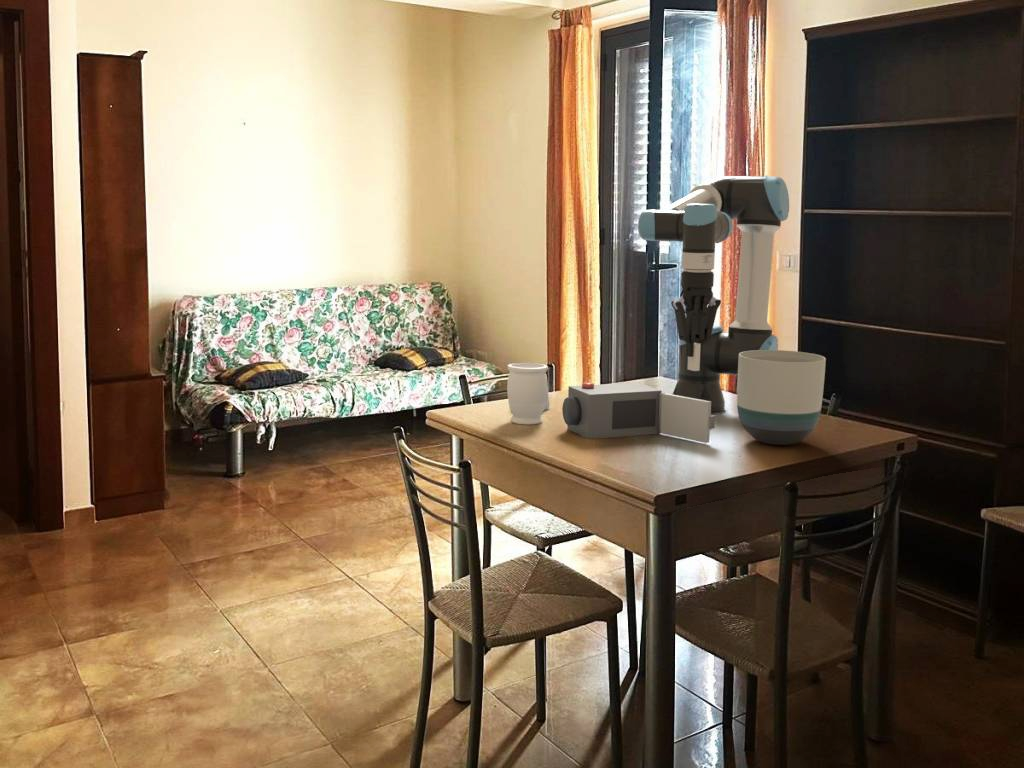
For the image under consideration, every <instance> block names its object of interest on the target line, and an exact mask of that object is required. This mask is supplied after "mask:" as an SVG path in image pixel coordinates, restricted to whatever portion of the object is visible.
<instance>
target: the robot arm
mask: <svg viewBox="0 0 1024 768" xmlns="http://www.w3.org/2000/svg"><path fill="white" fill-rule="evenodd" d="M789 212H790V198H789V190H788V187H787V184H786V182H785V180H784V179H783V178H781V177H779V176H774V175H773V176H772V175H770V176H769V175H726V176H721V177H717V178H713V179H710V180H708V181H705V182H703V183H701V184H698V185H697V186H695V187H694V188H692V189H691V190H690V192H689V193H688V195H686V196H684V197H682V198H680V199H678V200H676V201H675V202H673V203H671V204H669V205H668V206H666V207H663V208H661V209H654V208H653V209H645V210H643V211H642V212H641V213H640V215H639V218H638V221H637V230H638V235H639V237H640V238H641V240H643V241H652V242H679V243H680V242H681V243H682V250H681V251H682V252H681V267H680V268H681V269H682V270H683V271H682V272H681V274H680V286H681V292H680V294H679V298H677V299H676V300H672V301H671V306H672V308H673V310H674V316H675V320H676V321H675V322H676V327H677V333H678V339H679V344H678V368H677V380H676V385H675V387H674V389H673V392H672V395H678V396H683V397H689V398H694V399H700V400H705V401H711V414H712V413H713V414H714V413H720V412H723V411H725V406H726V405H725V404H726V403H725V402H726V401H725V398H724V394H723V391H722V387H721V383H720V381H721V374H723V375H731V376H738V359H739V353H741V352H744V351H752V350H779V344H778V343H779V338H778V336H776V335H774V334H773V327H772V326H771V325H770V324H769V323H768V315H769V314H768V313H769V301H770V292H771V291H770V289H771V288H770V287H771V277H772V276H771V275H772V265H773V264H772V263H773V253H774V241H775V240H774V239H775V235H776V233H777V231H779V229H780V228H781V226H782V225H781V224H782V222H784V221H786V220H787V219H788V217H789V214H790V213H789ZM733 220H736V227H737V228H738V229H739V230H740V231H741V241H740V249H739V251H740V252H739V254H740V255H739V264H738V265H739V266H738V278H737V292H736V306H735V317H734V320H733V322H732V323H730V324H729V325H728V331H724V329H723V327H722V325H714V324H715V321H716V316H717V312H718V309H719V307H720V305H721V303H722V301H721V299H717V298H716V297H715V296H714V293H713V290H712V289H713V287H714V279H715V278H714V277H715V273H714V272H713V271H712V270H714V269H715V257H716V256H715V255H716V253H715V252H716V244H719V243H722V242H724V241H726V240H727V239H728V238H729V237H730V236H731V234H733V230H734V229H733V228H734V224H733Z"/></svg>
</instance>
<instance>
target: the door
mask: <svg viewBox="0 0 1024 768" xmlns="http://www.w3.org/2000/svg"><path fill="white" fill-rule="evenodd" d="M672 394H673V393H672ZM672 394H670V393H665V392H662V393H660V396H659V420H658V433H660V434H662V435H667V436H672V437H675V438H682V439H685V440H691V441H694V442H695V441H696V442H700V443H705V444H707V443H710V435H711V434H710V432H711V430H712V429H716V415H715V414H712V413H711V401H705V400H700V399H694V398H689V397H683V396H678V395H672Z"/></svg>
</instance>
